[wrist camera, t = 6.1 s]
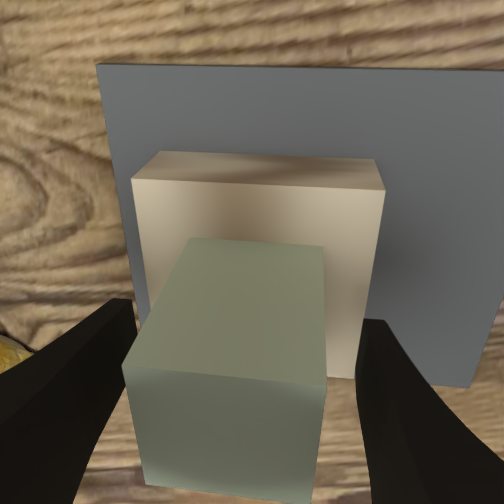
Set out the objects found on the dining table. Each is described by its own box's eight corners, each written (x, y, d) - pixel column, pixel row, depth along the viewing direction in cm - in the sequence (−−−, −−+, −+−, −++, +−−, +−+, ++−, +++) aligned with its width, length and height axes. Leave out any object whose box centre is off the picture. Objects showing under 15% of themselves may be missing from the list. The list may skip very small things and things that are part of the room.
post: (322, 245, 14) (327, 386, 9) (312, 348, 16) (310, 505, 11) (189, 237, 15) (121, 365, 9) (197, 337, 17) (145, 484, 12)
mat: (578, 71, 14) (585, 73, 13) (466, 381, 21) (469, 388, 20) (100, 63, 15) (95, 64, 15) (148, 352, 22) (145, 357, 22)
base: (373, 159, 15) (385, 190, 13) (348, 329, 19) (353, 379, 17) (159, 150, 16) (131, 178, 14) (178, 315, 20) (158, 360, 18)
